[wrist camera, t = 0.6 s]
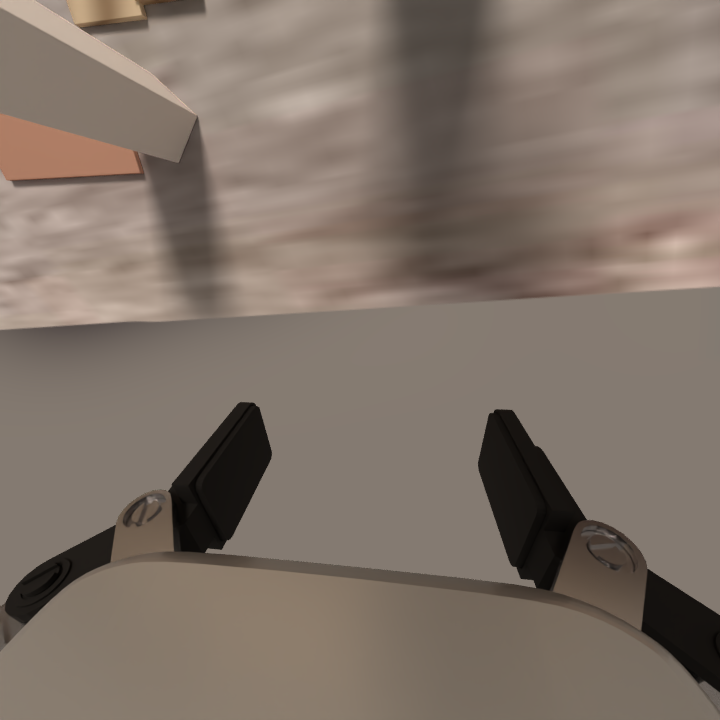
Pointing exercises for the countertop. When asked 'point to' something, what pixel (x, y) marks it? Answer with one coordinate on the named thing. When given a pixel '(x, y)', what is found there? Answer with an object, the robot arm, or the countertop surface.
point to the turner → (108, 11)
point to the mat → (58, 153)
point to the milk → (84, 85)
